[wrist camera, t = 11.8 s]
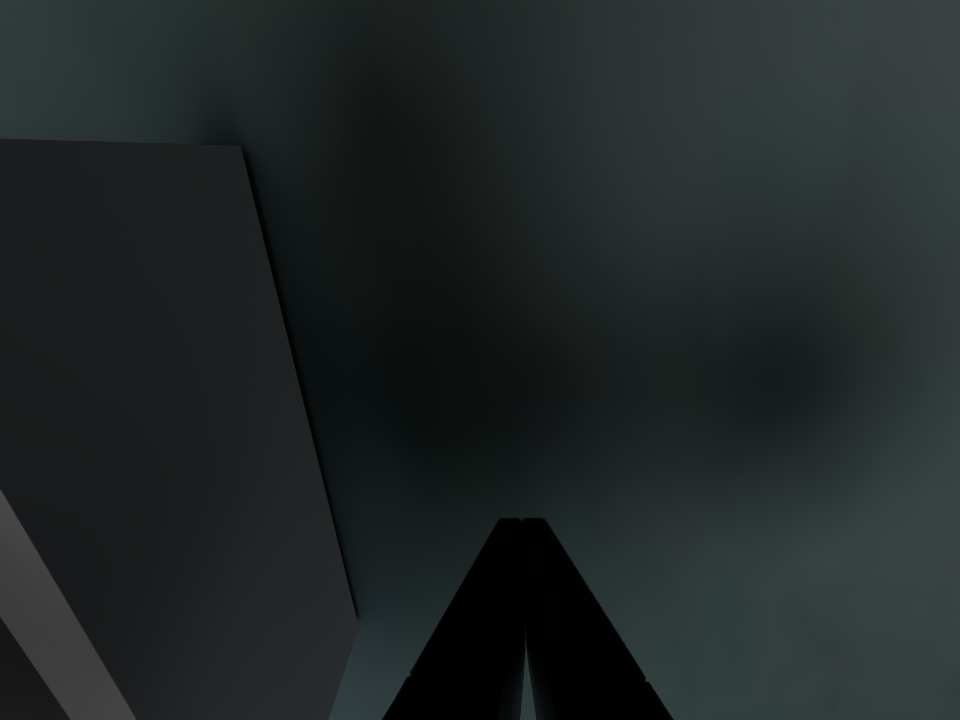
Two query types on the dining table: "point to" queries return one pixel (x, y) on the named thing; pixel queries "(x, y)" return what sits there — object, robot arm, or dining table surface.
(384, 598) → the dining table surface
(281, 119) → the dining table surface
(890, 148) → the dining table surface
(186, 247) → the tray
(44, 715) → the dice cube
